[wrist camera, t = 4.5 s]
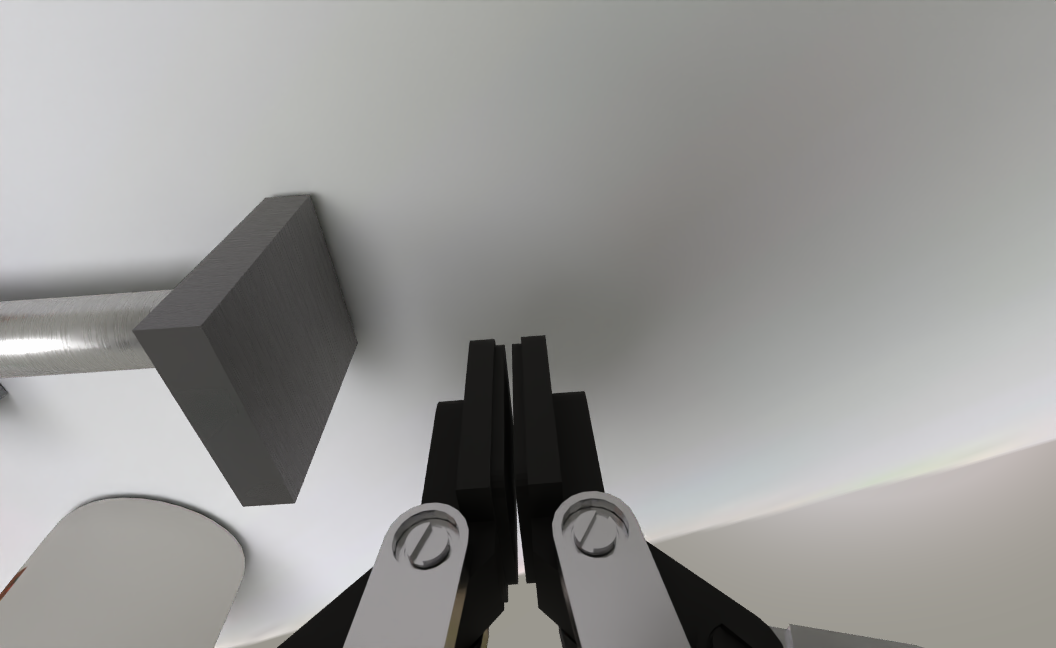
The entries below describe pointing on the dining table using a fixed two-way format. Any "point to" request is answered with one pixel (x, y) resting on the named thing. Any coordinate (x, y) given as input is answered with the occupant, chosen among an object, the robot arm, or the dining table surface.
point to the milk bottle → (124, 580)
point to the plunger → (218, 345)
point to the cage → (2, 392)
